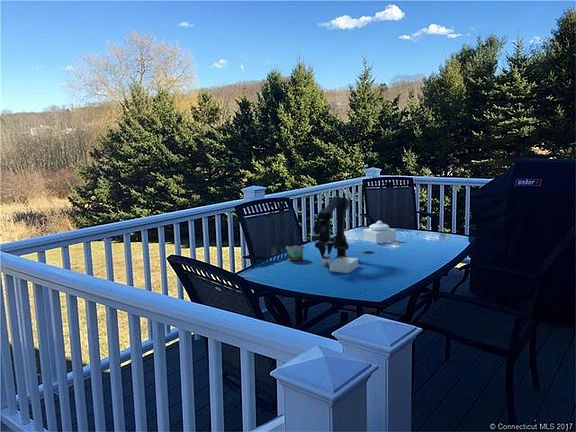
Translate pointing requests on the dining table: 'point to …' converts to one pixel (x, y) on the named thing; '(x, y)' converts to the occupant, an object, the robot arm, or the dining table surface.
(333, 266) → the camera body
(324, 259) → the steel lens
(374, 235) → the butter dish
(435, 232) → the dining table surface
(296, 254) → the food container
